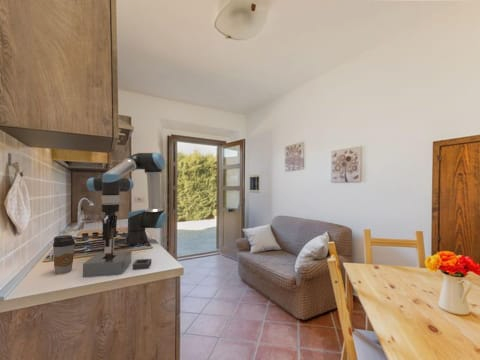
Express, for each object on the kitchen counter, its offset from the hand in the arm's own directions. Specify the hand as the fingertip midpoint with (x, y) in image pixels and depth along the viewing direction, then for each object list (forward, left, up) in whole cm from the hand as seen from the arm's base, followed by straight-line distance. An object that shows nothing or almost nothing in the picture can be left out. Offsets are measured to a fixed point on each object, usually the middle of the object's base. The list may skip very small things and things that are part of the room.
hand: (109, 251), depth 107 cm
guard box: (0, 0, -9) cm, 9 cm away
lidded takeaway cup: (-24, -32, -9) cm, 41 cm away
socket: (-1, +15, -9) cm, 17 cm away
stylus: (0, 0, -6) cm, 6 cm away
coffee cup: (-1, -20, -9) cm, 22 cm away
